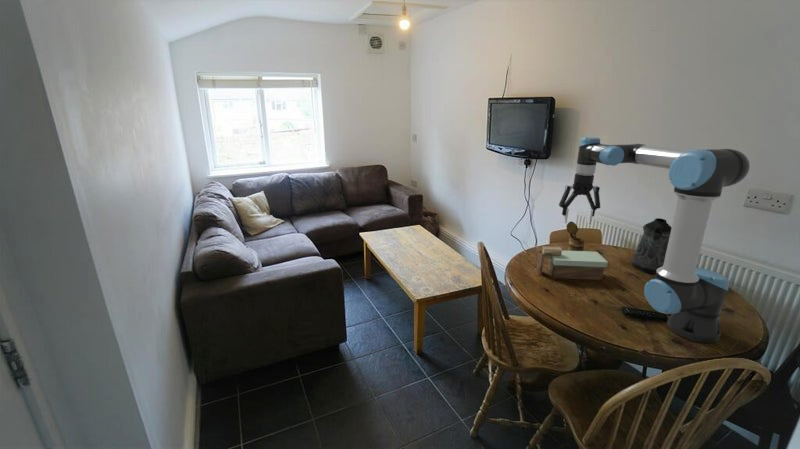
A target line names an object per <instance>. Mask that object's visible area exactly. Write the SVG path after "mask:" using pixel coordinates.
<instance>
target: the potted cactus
mask: <svg viewBox="0 0 800 449" xmlns="http://www.w3.org/2000/svg"><path fill="white" fill-rule="evenodd" d="M578 228H579V227H578V225H577V224H576V223H575V222H573V221H572V220H571V221H569V222H567V223H566V231H567V233H569V239H568V240H569V241H568V248H567V250H566V251H585V249H584V248H585V247H584V246H585V240H584V238H582V237H581V238H579V237H577V235H576V234H577V233H578V230H579V229H578Z"/></svg>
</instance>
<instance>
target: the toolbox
mask: <svg viewBox="0 0 800 449" xmlns="http://www.w3.org/2000/svg"><path fill="white" fill-rule="evenodd" d="M550 258H552V254H543V253H542V249H540V250H538V258H537V264H536V270H537V271H536V272H537V274H538V276H542V275H543V269H544V260H545V259H547V264H546V265H547V266H546V270H547V272H548V274H549V275H550V276H551V278H552V279H568V280H570V279H572V280H591V281H592V280H593V281H594V280H595V281H596V280H597V281H602V280H603V275H604V269H605V267H588V266H564V265H554V264H553V263H552V261H551V260H550Z"/></svg>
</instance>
